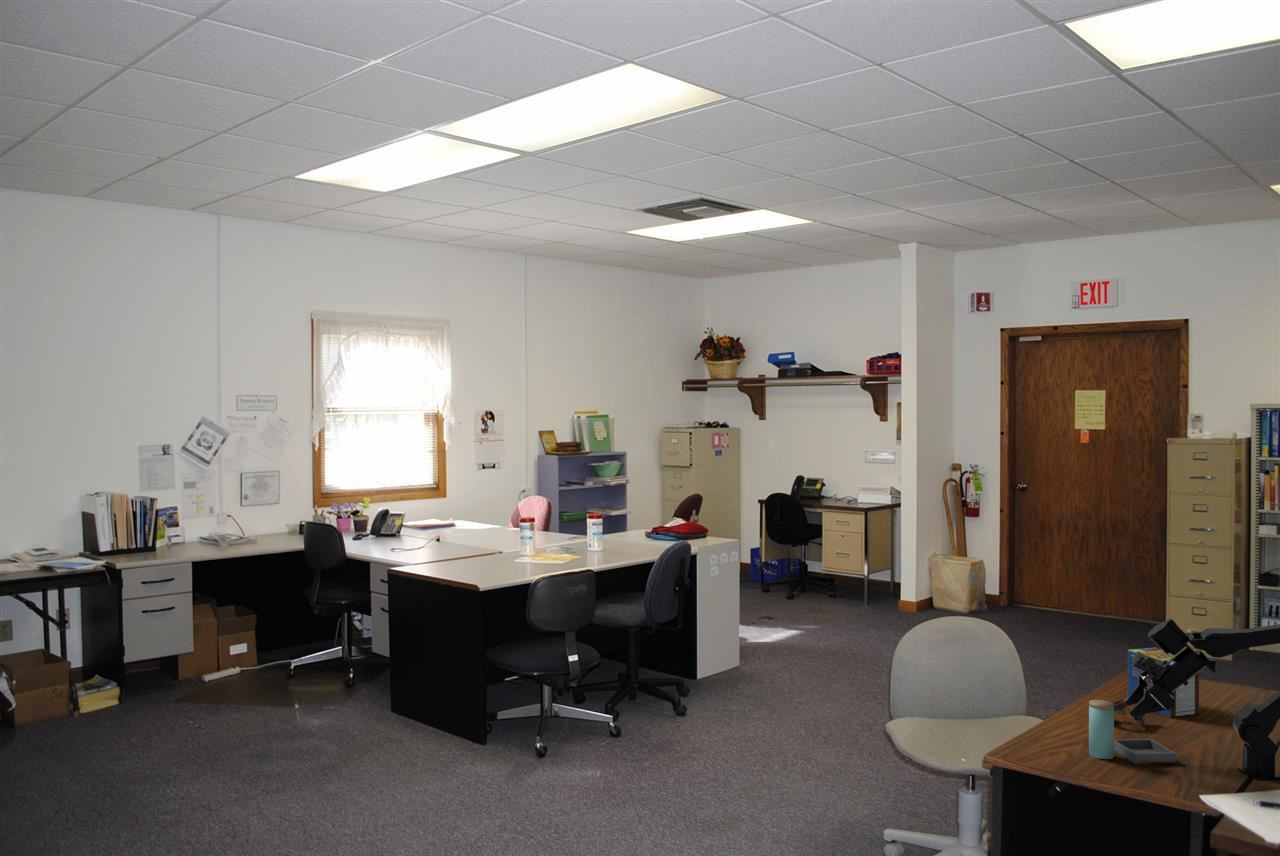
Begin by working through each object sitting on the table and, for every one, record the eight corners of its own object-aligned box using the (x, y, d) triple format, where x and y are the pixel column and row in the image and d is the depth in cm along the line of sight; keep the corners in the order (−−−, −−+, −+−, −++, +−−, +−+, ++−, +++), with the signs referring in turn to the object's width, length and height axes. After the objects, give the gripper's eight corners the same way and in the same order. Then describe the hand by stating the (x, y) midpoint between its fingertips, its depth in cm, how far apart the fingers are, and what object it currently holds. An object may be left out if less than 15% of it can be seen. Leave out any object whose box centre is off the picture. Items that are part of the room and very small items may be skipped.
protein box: (1154, 699, 283) (1155, 646, 283) (1199, 715, 268) (1200, 659, 268) (1126, 702, 280) (1126, 649, 279) (1170, 718, 265) (1170, 662, 265)
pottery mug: (1133, 736, 252) (1115, 706, 254) (1108, 741, 260) (1091, 712, 263) (1163, 718, 257) (1146, 689, 259) (1137, 724, 265) (1121, 695, 267)
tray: (1176, 763, 230) (1176, 753, 230) (1135, 764, 230) (1135, 754, 230) (1150, 748, 241) (1151, 738, 240) (1111, 749, 240) (1111, 739, 240)
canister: (1118, 759, 233) (1118, 706, 233) (1096, 760, 233) (1096, 706, 232) (1106, 751, 238) (1106, 699, 238) (1084, 752, 238) (1084, 700, 238)
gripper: (1149, 634, 240) (1099, 674, 244) (1159, 651, 222) (1106, 693, 226) (1184, 669, 237) (1134, 708, 241) (1198, 689, 220) (1143, 731, 224)
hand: (1128, 709), depth 233 cm, fingers open, 9 cm apart
